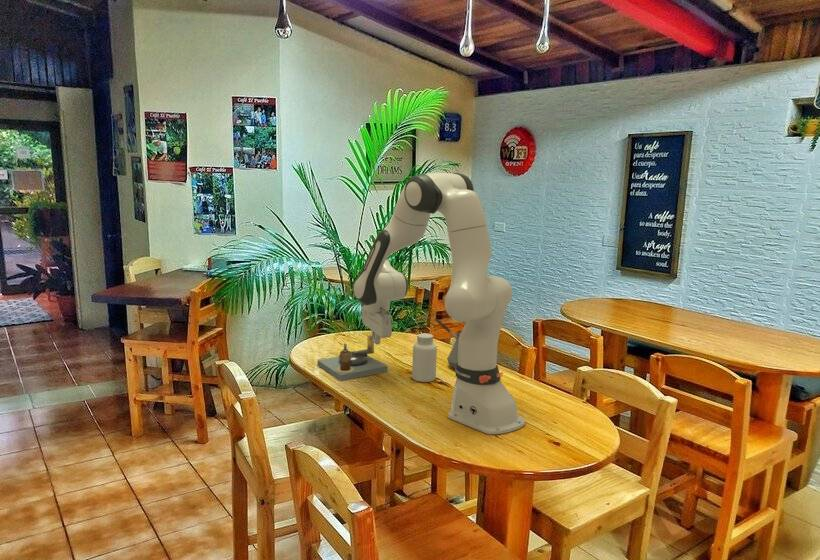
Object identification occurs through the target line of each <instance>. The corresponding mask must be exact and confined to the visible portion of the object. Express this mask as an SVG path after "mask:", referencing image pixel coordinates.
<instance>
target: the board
mask: <svg viewBox="0 0 820 560" xmlns="http://www.w3.org/2000/svg"><path fill="white" fill-rule="evenodd" d="M317 366H318V367H319V368H321V369H322V370H324V371H325V372H326V373H328V374H329V375H331V376H333V377H334V378H335V379H337V380H339V381H340V382H342V381H343V382H344V381H348V380H353V379H358V378H362V377H367V376H372V375H376V374H382V373H387V372H388V369H389V367H388V365H387V364H384V363H383V362H381V361H379V360H378V359H376V358H373V356H370V355H368V361H367V363H366V364H363V365H358V366H350V370H348V371H342V370H340V363H339V355H337V356H333V357H327V358H322V359H317Z"/></svg>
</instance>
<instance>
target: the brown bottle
mask: <svg viewBox="0 0 820 560" xmlns="http://www.w3.org/2000/svg"><path fill="white" fill-rule="evenodd" d="M347 346H348V345H347V343H343V349H342V350H341V351H340V352H339V355H340V370H342V371H348V370H350V352H351V351H350V350H349V349H347Z"/></svg>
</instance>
